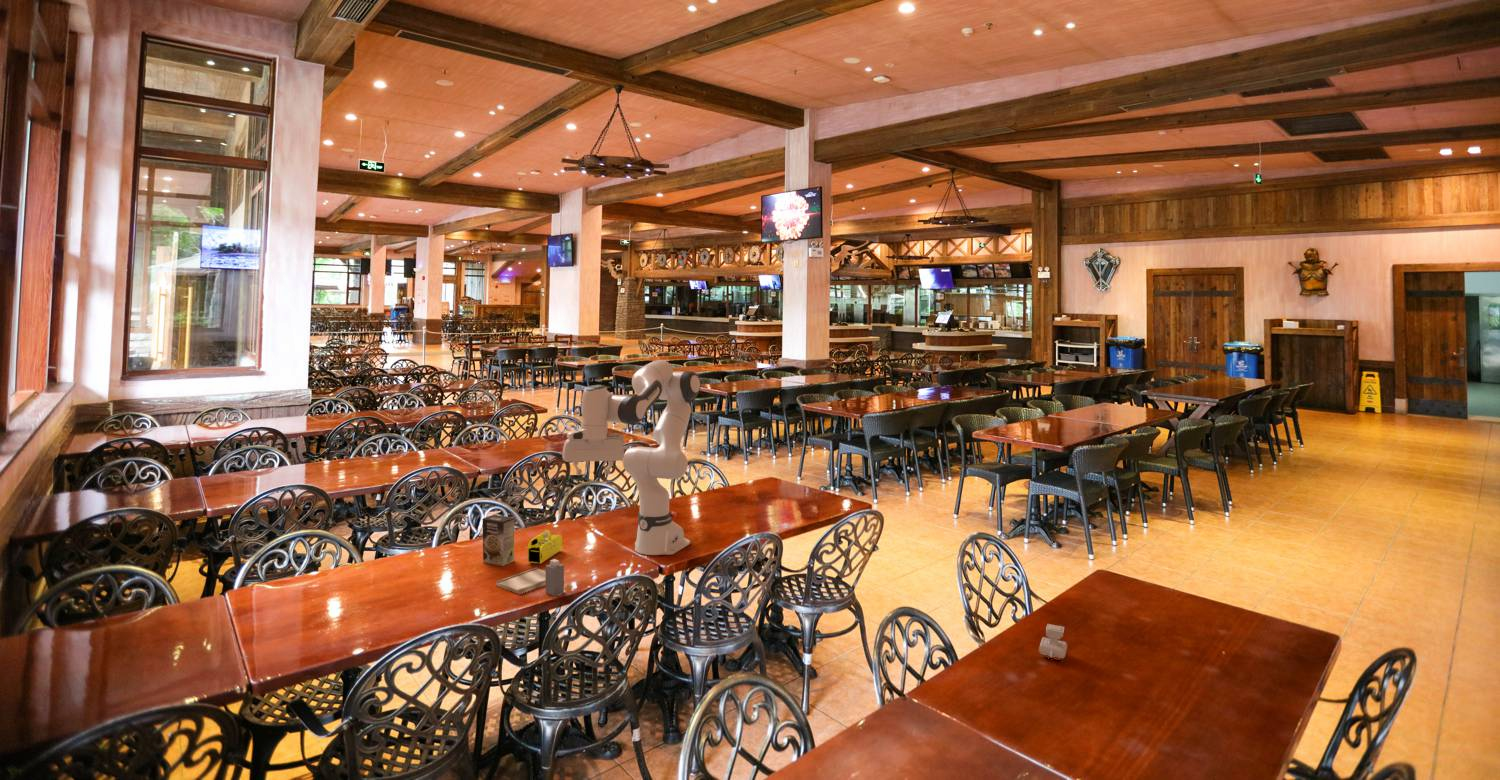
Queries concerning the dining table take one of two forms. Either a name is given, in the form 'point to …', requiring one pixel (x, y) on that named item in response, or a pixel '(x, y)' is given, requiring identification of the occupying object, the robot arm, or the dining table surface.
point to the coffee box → (498, 540)
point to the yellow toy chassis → (544, 547)
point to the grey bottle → (554, 577)
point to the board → (524, 581)
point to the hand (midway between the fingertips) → (593, 474)
